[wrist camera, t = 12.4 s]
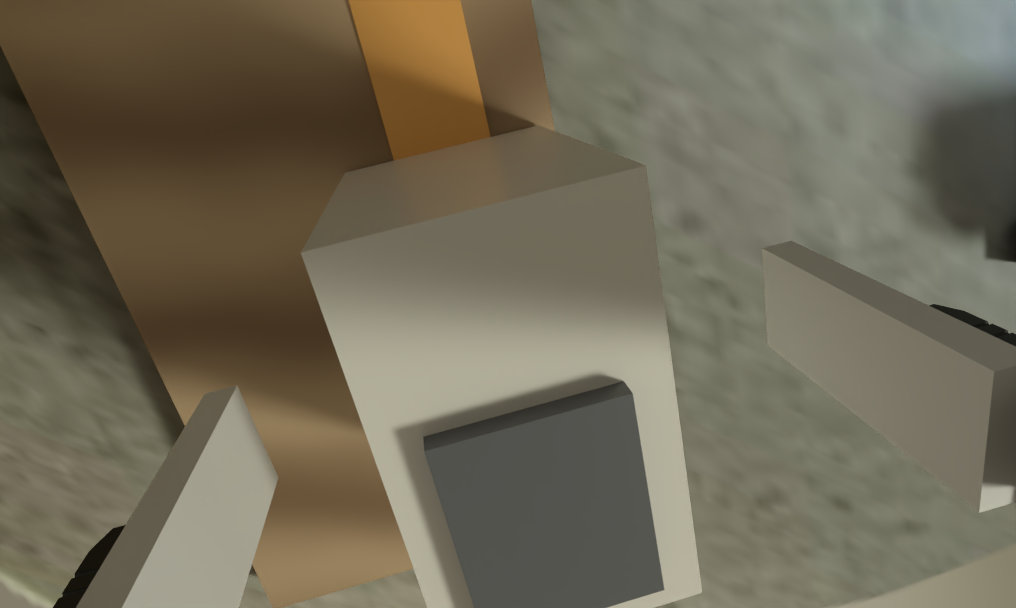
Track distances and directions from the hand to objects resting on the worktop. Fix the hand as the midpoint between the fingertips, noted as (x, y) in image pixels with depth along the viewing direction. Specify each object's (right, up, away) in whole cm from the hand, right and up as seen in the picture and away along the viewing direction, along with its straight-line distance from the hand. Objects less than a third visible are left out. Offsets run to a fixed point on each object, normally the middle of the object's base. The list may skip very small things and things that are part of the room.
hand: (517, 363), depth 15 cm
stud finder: (-1, +2, +5) cm, 6 cm away
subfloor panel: (-5, +2, +6) cm, 8 cm away
